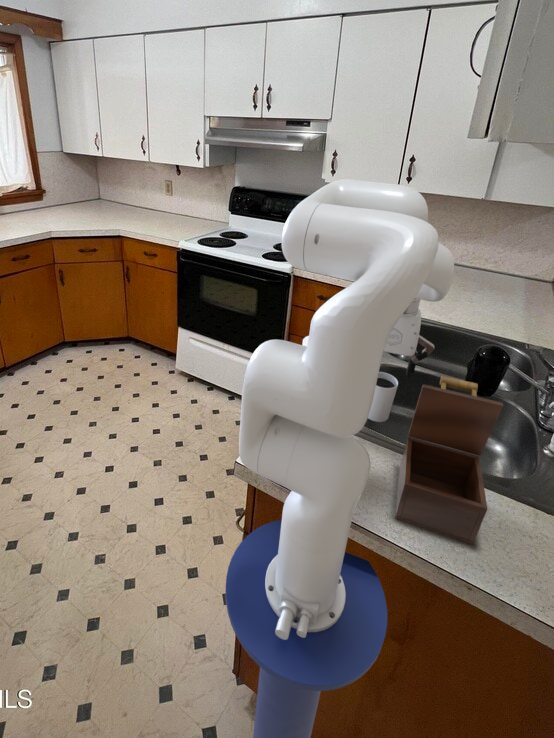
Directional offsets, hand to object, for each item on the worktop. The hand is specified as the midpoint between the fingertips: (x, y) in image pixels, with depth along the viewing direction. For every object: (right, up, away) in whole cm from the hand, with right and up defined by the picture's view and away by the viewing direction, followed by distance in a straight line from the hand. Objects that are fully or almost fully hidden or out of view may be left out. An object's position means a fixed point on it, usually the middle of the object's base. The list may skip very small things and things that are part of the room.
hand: (385, 369), depth 98 cm
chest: (+2, -23, -18) cm, 29 cm away
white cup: (0, -12, +5) cm, 13 cm away
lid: (+4, -7, -21) cm, 22 cm away
